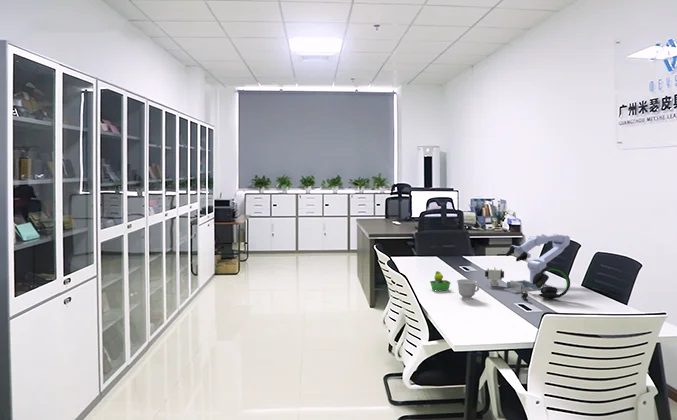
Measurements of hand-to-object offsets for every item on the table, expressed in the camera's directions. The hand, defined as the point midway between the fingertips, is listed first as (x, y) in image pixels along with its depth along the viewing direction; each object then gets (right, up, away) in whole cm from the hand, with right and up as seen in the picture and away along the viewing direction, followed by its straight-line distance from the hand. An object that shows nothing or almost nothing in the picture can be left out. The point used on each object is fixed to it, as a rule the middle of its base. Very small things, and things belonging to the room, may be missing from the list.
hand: (511, 257), depth 310 cm
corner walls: (+7, -20, -1) cm, 21 cm away
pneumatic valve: (-8, -19, +8) cm, 23 cm away
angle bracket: (-2, -21, -9) cm, 22 cm away
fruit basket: (-46, -20, -2) cm, 51 cm away
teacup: (-34, -22, -25) cm, 48 cm away
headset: (+10, -22, -27) cm, 36 cm away
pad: (+6, -20, -3) cm, 21 cm away
